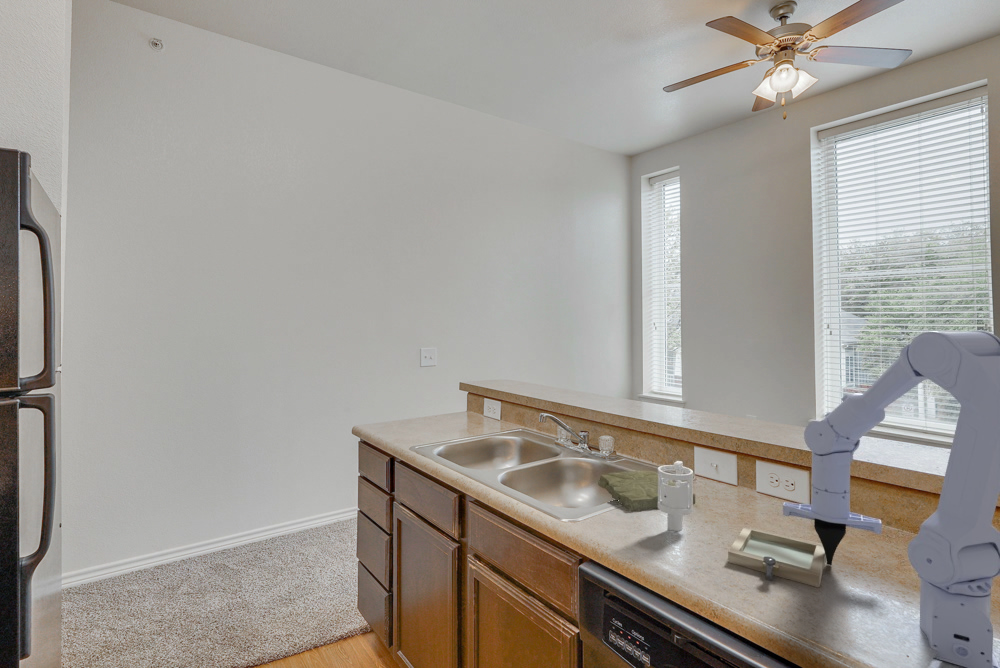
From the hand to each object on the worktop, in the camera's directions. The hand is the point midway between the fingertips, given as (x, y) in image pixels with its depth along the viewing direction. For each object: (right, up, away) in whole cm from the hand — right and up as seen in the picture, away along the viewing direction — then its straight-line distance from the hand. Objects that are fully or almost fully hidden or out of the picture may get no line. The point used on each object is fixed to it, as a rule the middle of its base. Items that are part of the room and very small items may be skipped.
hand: (829, 562), depth 88 cm
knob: (-13, -2, -4) cm, 14 cm away
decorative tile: (-22, -2, +41) cm, 46 cm away
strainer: (-22, -2, +16) cm, 27 cm away
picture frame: (-8, -1, +2) cm, 8 cm away
